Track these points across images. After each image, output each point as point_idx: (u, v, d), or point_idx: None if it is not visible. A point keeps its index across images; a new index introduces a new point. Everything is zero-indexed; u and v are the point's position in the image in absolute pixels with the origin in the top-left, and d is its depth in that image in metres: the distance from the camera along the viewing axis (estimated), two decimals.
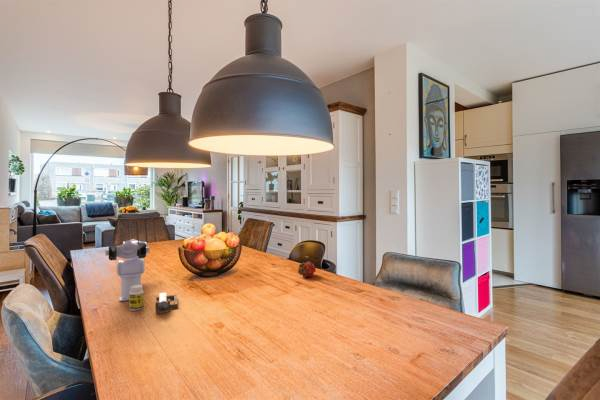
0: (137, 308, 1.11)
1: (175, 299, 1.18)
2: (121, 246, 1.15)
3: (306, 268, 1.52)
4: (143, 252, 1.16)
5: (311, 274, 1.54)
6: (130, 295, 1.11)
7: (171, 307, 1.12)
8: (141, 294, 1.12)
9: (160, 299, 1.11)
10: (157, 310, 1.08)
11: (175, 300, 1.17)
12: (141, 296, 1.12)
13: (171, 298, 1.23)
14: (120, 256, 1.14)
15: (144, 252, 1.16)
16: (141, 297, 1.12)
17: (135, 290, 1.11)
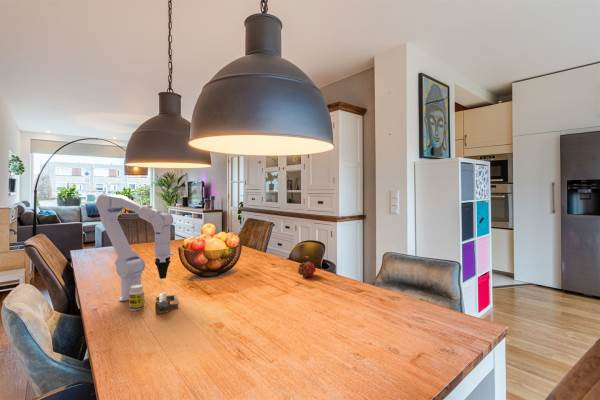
0: (137, 308, 1.11)
1: (175, 299, 1.18)
2: (167, 256, 1.21)
3: (306, 268, 1.52)
4: None
5: (311, 274, 1.54)
6: (130, 295, 1.11)
7: (171, 307, 1.12)
8: (141, 294, 1.12)
9: (160, 299, 1.11)
10: (157, 310, 1.08)
11: (175, 300, 1.17)
12: (141, 296, 1.12)
13: (171, 298, 1.23)
14: None
15: None
16: (141, 297, 1.12)
17: (135, 290, 1.11)
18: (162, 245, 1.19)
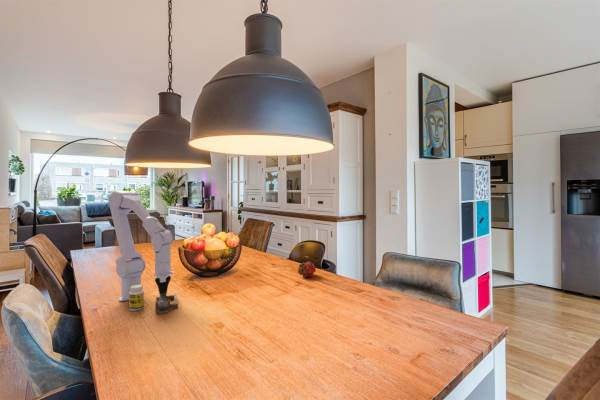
0: (137, 308, 1.11)
1: (175, 299, 1.18)
2: None
3: (306, 268, 1.52)
4: None
5: (311, 274, 1.54)
6: (130, 295, 1.11)
7: (171, 307, 1.12)
8: (141, 294, 1.12)
9: (160, 299, 1.11)
10: (157, 310, 1.08)
11: (175, 300, 1.17)
12: (141, 296, 1.12)
13: (171, 298, 1.23)
14: None
15: None
16: (141, 297, 1.12)
17: (135, 290, 1.11)
18: (162, 264, 1.17)
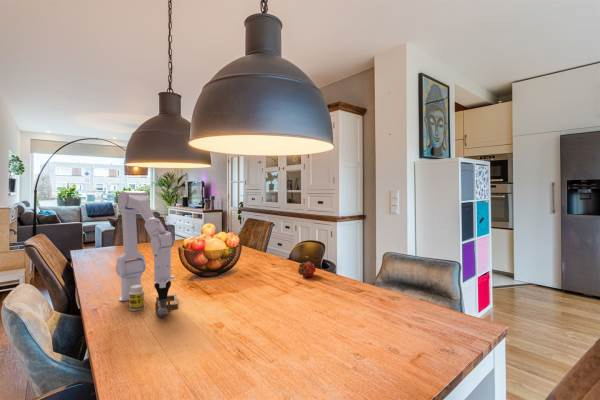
0: (137, 308, 1.11)
1: (175, 299, 1.18)
2: None
3: (306, 268, 1.52)
4: None
5: (311, 274, 1.54)
6: (130, 295, 1.11)
7: (171, 307, 1.12)
8: (141, 294, 1.12)
9: (160, 306, 1.04)
10: (157, 310, 1.08)
11: (175, 300, 1.17)
12: (141, 296, 1.12)
13: (171, 298, 1.23)
14: None
15: None
16: (141, 297, 1.12)
17: (135, 290, 1.11)
18: (162, 268, 1.10)
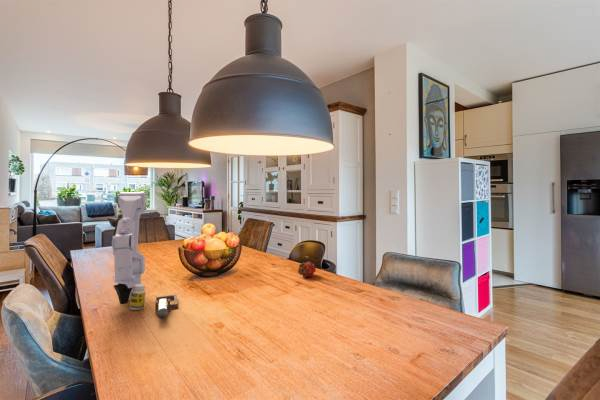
0: (137, 307, 1.11)
1: (175, 299, 1.18)
2: None
3: (306, 268, 1.52)
4: None
5: (311, 274, 1.54)
6: (132, 293, 1.11)
7: (171, 307, 1.12)
8: (143, 294, 1.13)
9: (160, 306, 1.04)
10: (157, 310, 1.08)
11: (175, 300, 1.17)
12: (143, 296, 1.13)
13: (171, 298, 1.23)
14: None
15: None
16: (142, 297, 1.13)
17: (137, 289, 1.12)
18: (126, 269, 1.09)
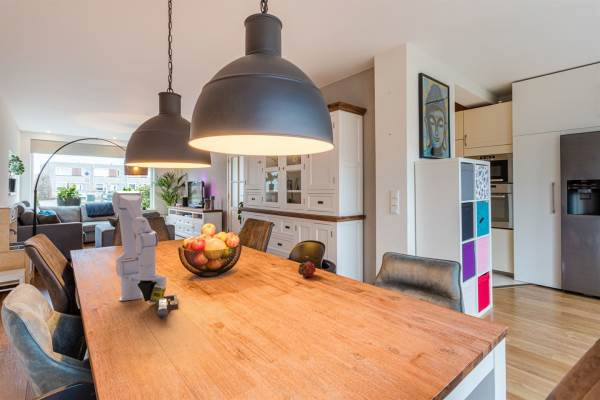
0: None
1: (175, 299, 1.18)
2: None
3: (306, 268, 1.52)
4: None
5: (311, 274, 1.54)
6: (156, 288, 1.16)
7: (171, 307, 1.12)
8: (165, 289, 1.18)
9: (160, 306, 1.04)
10: (157, 310, 1.08)
11: (175, 300, 1.17)
12: (164, 291, 1.18)
13: (171, 298, 1.23)
14: None
15: None
16: (164, 292, 1.18)
17: (162, 284, 1.17)
18: (153, 266, 1.14)
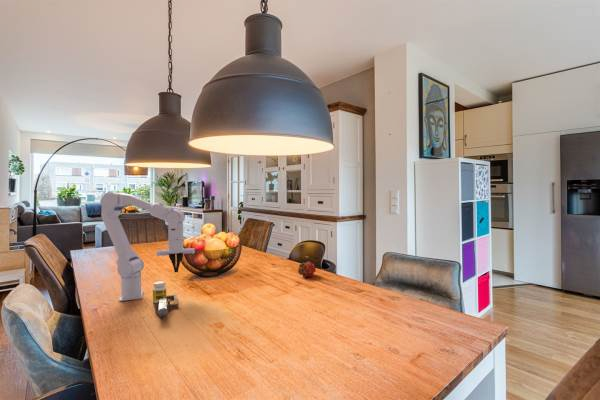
0: None
1: (175, 299, 1.18)
2: None
3: (306, 268, 1.52)
4: None
5: (311, 274, 1.54)
6: (156, 291, 1.15)
7: (171, 307, 1.12)
8: None
9: (160, 306, 1.04)
10: (157, 310, 1.08)
11: (175, 300, 1.17)
12: None
13: (171, 298, 1.23)
14: (182, 251, 1.25)
15: None
16: None
17: (161, 286, 1.16)
18: None
